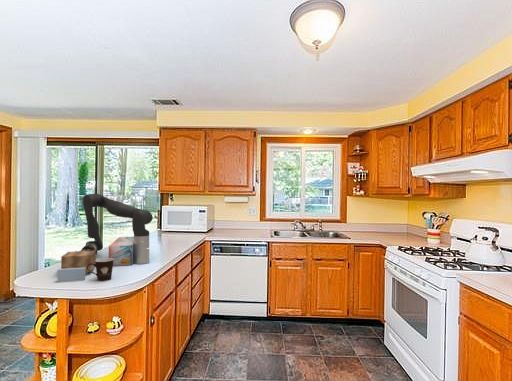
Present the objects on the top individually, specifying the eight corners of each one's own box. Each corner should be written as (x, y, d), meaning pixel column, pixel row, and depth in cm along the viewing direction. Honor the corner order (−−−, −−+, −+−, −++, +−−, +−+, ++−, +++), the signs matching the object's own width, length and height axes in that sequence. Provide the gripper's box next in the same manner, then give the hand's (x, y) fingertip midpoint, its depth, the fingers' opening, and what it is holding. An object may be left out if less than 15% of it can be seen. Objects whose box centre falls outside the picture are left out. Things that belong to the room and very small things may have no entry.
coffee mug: (116, 277, 167) (116, 258, 167) (109, 281, 158) (109, 261, 158) (93, 277, 166) (94, 258, 166) (85, 281, 158) (85, 261, 158)
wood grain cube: (95, 265, 184) (95, 250, 184) (90, 271, 171) (90, 255, 171) (68, 267, 180) (68, 251, 180) (61, 273, 166) (61, 256, 167)
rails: (91, 268, 184) (91, 265, 184) (83, 279, 162) (83, 276, 162) (72, 269, 181) (72, 266, 181) (61, 280, 159) (61, 277, 159)
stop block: (85, 278, 163) (85, 267, 163) (84, 280, 160) (84, 268, 160) (58, 280, 159) (58, 268, 159) (57, 282, 157) (57, 270, 157)
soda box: (132, 266, 192) (132, 244, 192) (107, 267, 189) (108, 245, 189) (138, 253, 232) (138, 235, 232) (118, 254, 228) (118, 236, 228)
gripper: (77, 244, 199) (70, 249, 182) (100, 244, 203) (95, 248, 186) (77, 256, 199) (70, 262, 182) (100, 255, 203) (95, 261, 186)
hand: (82, 255), depth 184 cm, fingers closed
